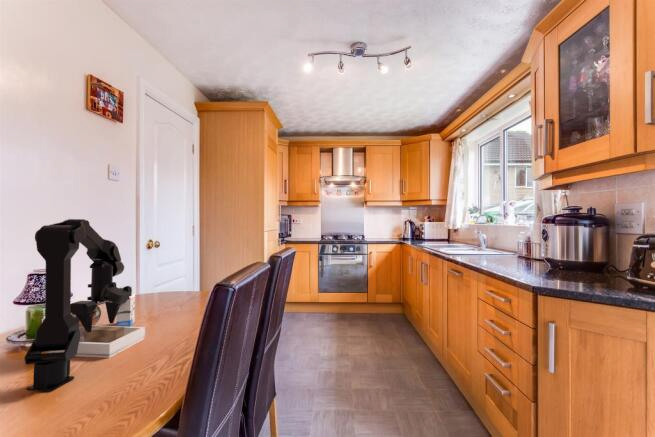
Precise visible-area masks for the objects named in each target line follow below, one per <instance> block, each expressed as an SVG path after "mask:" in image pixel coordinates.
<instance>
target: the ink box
mask: <svg viewBox="0 0 655 437" xmlns="http://www.w3.org/2000/svg"><path fill="white" fill-rule="evenodd" d="M131 294H132V296H129V300H127V302H126V303H124V304H123V305H121V306H120V308H119V310H118V312H117V315H116V326H123V327H132V325H133V324H134V323H135V316H136V315H135V314H136V313H135V312H136V310H135V309H136V293H131Z"/></svg>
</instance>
